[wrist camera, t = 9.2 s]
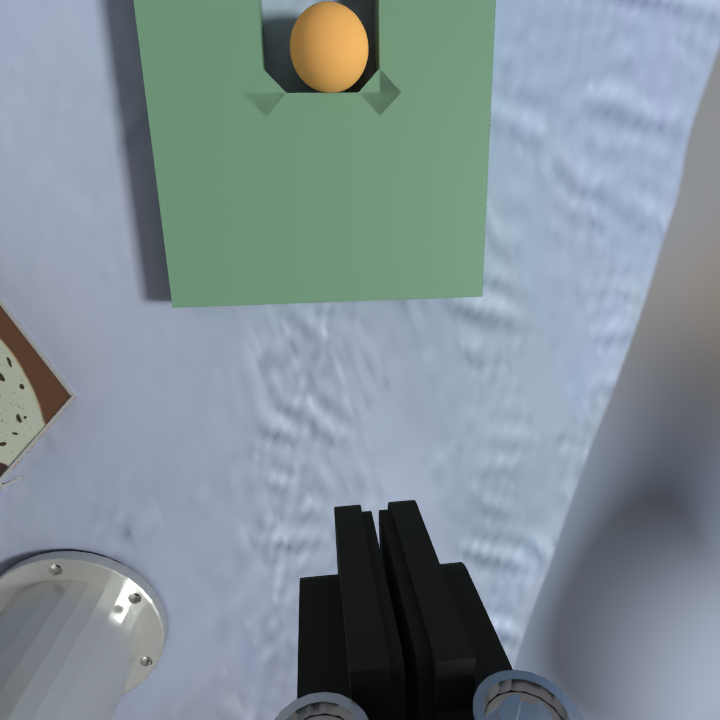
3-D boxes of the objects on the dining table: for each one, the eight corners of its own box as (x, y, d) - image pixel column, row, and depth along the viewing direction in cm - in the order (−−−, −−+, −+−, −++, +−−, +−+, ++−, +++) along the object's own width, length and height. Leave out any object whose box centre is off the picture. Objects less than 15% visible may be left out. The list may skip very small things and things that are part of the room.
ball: (360, 22, 28) (364, 101, 29) (286, 23, 27) (293, 104, 28) (371, -16, 24) (376, 78, 25) (285, -15, 24) (293, 80, 24)
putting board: (472, 291, 32) (482, 296, 30) (181, 301, 31) (172, 307, 29) (487, -91, 27) (501, -115, 25) (132, -99, 25) (117, -124, 23)
